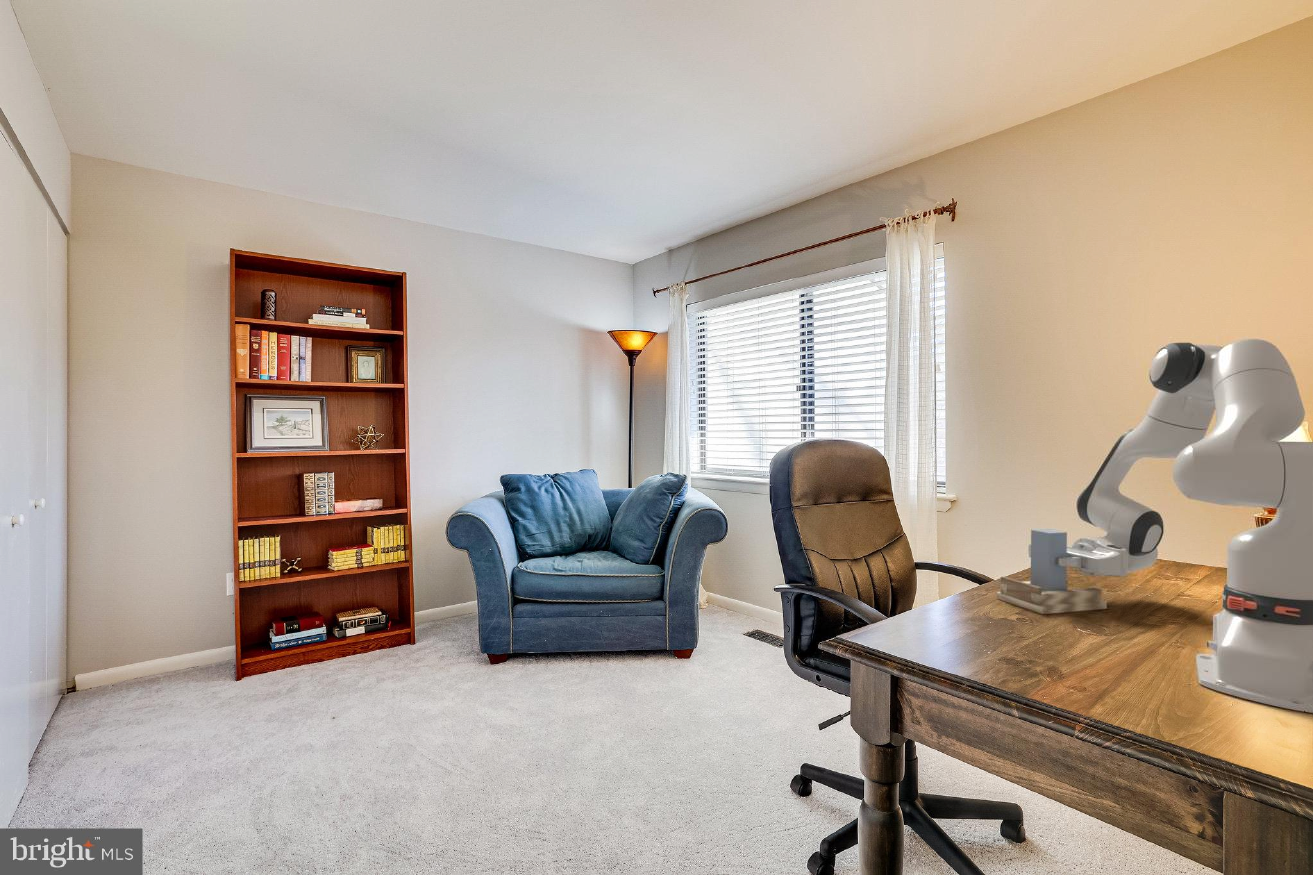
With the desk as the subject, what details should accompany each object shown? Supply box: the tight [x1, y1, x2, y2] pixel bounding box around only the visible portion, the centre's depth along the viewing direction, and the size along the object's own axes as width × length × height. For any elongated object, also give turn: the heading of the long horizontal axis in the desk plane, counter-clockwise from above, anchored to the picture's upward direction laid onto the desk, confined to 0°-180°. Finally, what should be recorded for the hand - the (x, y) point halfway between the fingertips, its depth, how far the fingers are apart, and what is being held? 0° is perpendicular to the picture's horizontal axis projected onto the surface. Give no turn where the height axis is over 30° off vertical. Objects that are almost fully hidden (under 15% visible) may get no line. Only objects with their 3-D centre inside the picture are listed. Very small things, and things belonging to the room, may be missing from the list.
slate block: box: [1030, 528, 1068, 592], centre depth 145 cm, size 5×5×14 cm
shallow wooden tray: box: [995, 576, 1108, 615], centre depth 145 cm, size 18×13×6 cm
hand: (1045, 558), depth 145 cm, fingers closed on slate block, 5 cm apart
